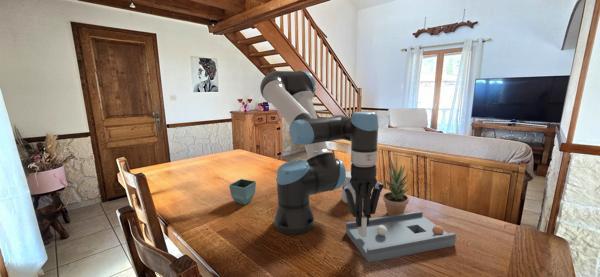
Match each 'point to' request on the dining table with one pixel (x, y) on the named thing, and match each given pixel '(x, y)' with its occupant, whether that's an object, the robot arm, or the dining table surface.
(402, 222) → the tray
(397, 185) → the potted plant
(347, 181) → the cup
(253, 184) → the flower pot
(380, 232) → the ball
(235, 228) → the dining table surface
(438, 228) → the rust ball
